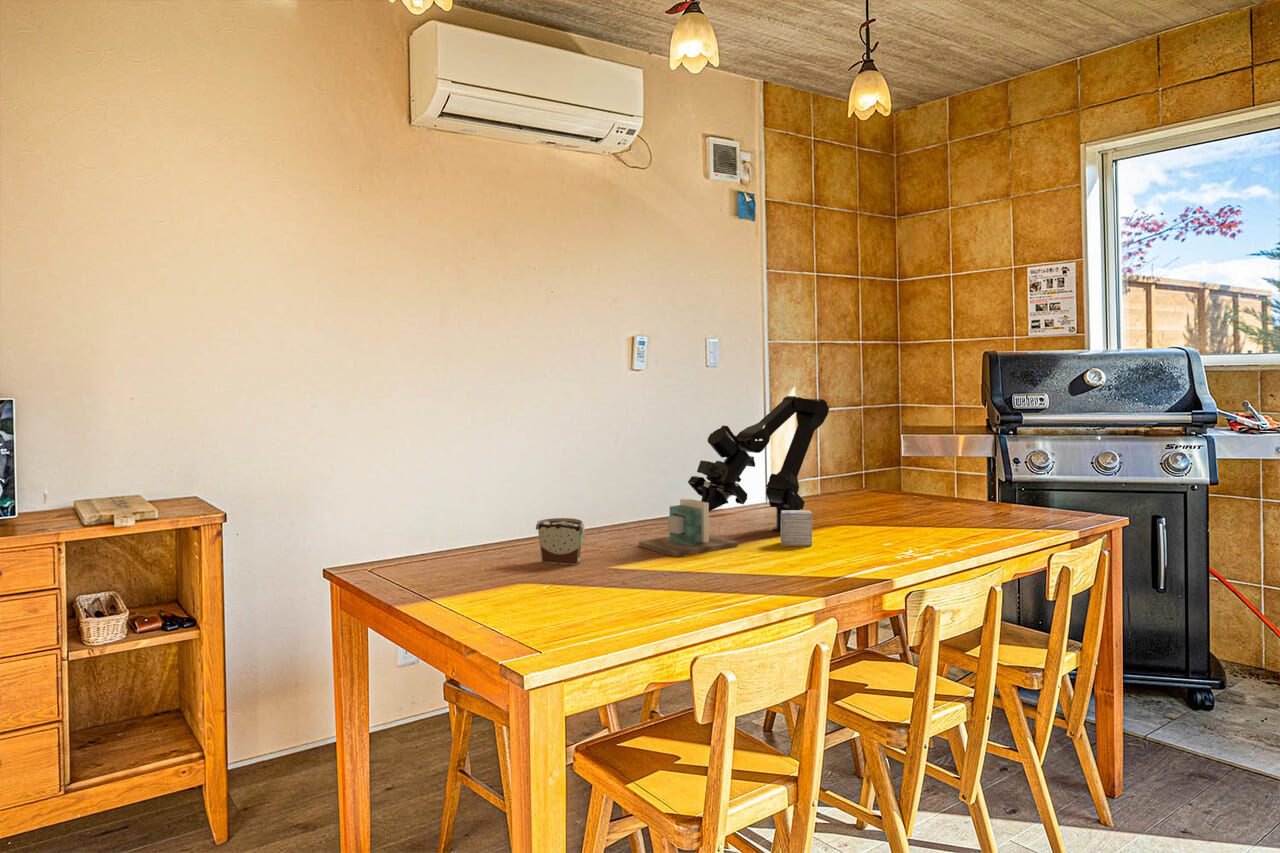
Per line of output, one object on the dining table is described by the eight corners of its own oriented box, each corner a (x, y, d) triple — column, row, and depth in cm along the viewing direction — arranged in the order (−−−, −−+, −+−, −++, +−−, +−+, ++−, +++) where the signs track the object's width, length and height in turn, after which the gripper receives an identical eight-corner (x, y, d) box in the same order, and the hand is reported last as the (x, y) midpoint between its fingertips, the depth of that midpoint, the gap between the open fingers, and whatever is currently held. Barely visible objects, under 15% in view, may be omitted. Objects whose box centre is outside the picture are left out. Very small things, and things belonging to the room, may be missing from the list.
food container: (593, 559, 207) (592, 519, 206) (583, 565, 201) (582, 523, 200) (547, 556, 211) (546, 516, 210) (536, 562, 205) (535, 521, 205)
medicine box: (810, 542, 224) (810, 510, 223) (812, 546, 219) (812, 513, 219) (780, 542, 224) (780, 509, 224) (781, 546, 220) (781, 513, 219)
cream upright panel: (684, 535, 226) (684, 498, 225) (708, 541, 218) (708, 502, 217) (661, 539, 222) (660, 501, 221) (684, 545, 214) (684, 506, 213)
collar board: (699, 536, 233) (699, 499, 232) (738, 546, 220) (738, 507, 219) (639, 546, 222) (638, 507, 221) (676, 557, 209) (675, 516, 208)
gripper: (693, 446, 232) (660, 490, 226) (738, 452, 216) (705, 499, 211) (715, 472, 237) (684, 516, 231) (761, 480, 221) (729, 527, 216)
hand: (699, 514), depth 222 cm, fingers closed
